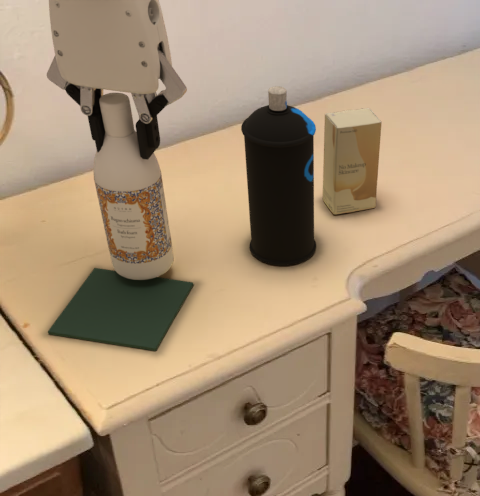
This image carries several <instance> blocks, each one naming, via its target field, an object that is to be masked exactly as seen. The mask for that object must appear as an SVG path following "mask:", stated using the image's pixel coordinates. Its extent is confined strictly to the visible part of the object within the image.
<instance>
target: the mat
mask: <svg viewBox="0 0 480 496" xmlns="http://www.w3.org/2000/svg"><path fill="white" fill-rule="evenodd" d="M194 285H195V284H194V282H192V281H187V280H186V281H185V280H180V279H172V278H165V277H160V276H158V277H155V278H152V279H147V280H133V279H128V278H125V277H123V276H121V275H119V274H118V273H117V272H116V271H115V270H114V269H113V270H112V269H106V268H101V267H100V268H99V267H94V268H93V270H92V271H91V272H90V273H89V274H88V276H87V277H86V279H85V280H84V282H83V283H82V284H81V285H80V287H79V288H78V290H77V291H76V292H75V294H74V295H73V296H72V298H71V299H70V300H69V302H68V303H67V305H66V306H65V307H64V308H63V310H62V311H61V313H60V314H59V315H58V317H57V319H56V320H55V321H54V322H53V324H52V325H51V326H50V328H49V329H48V331H47V333H48V335H52V336H57V337H58V336H59V337H64V338H70V339H77V340H84V341H90V342H95V343H101V344H108V345H114V346H115V345H116V346H121V347H127V348H133V349H134V348H135V349H138V350H139V349H141V350H146V351H152V352H157V350H158V349H159V346H160V344H161V343H162V341H163V339H164V338H165V336H166V334H167V332H168V331H169V329H170V327H171V326H172V323H174V320H175V319H176V317H177V315H178V313H179V311H180V309H181V308H182V306H183V304H184V303H185V301H186V299H187V298H188V296H189V294H190V292H191V291H192V289H193V287H194Z"/></svg>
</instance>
